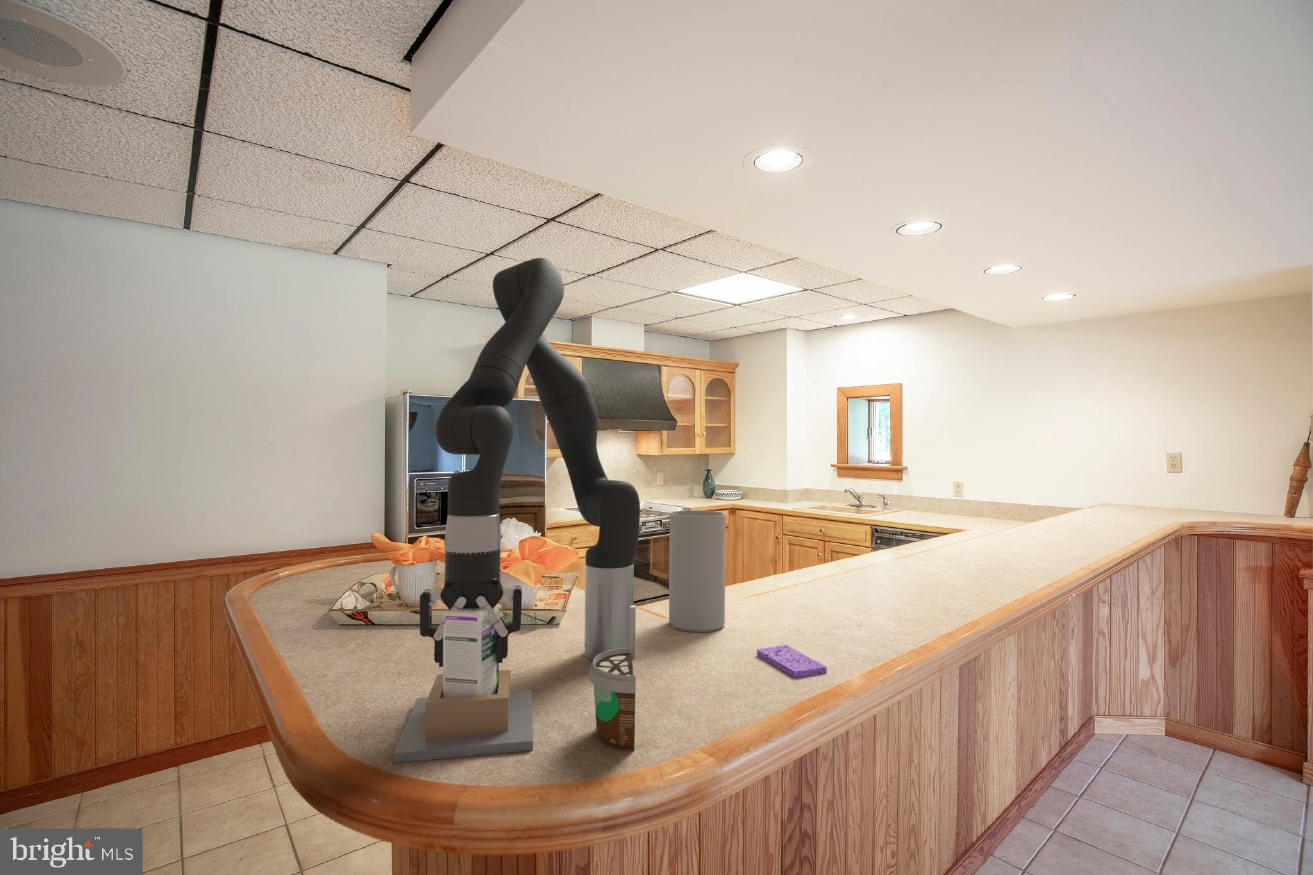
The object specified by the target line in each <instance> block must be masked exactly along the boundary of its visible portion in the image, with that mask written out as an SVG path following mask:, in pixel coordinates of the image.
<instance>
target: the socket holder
mask: <svg viewBox="0 0 1313 875" xmlns="http://www.w3.org/2000/svg"><path fill="white" fill-rule="evenodd" d="M511 671H512V670H511V669H502V670H500V669H499V685H498V693H497V694H491V695H478V696H464V697H450V698H443V673H440V674H438V673H437V674H436V677H435V678H434V682H433V684H432V687H431V690H430V692H429V695H428V696H426V697H417V698H416V700H415V702H414V705H413V706H412V709H411V711H410V714H409V716H408V717H407V718H408V719H407V720H406V723H405V725H404V728H403V730H402V732H401V734H400V737H399V739H398V742H397V743H396V745H395V747H394V749H393V750H394V751H393V753H392V763H393V764H397V763H407V762H409V763H411V762H421V761H430V760H440V759H441V760H442V759H451V758H453V759H454V758H462V757H463V758H464V757H472V756H483V755H486V756H487V755H494V754H496V755H497V754H505V753H517V752H527V751H533V750H534V749H533V748H534V738H533V737H534V732H533V731H534V728H533V725H534V721H533V690H532V689H525V690H511Z"/></svg>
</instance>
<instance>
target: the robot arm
mask: <svg viewBox="0 0 1313 875" xmlns="http://www.w3.org/2000/svg"><path fill="white" fill-rule="evenodd" d="M492 291H493V296H494V300H495V302H496V306H497V307H498V310H499V312H500V313H501V316H502V318H503V320H504V324H503V325H502V326H501V327H499V329H498V330H496V332H495V333H494V334H493V335H492V337H491V338H490V339H489V340H488V341H487V343H486V344H485V345H484V346H483V348H482V349H481V351H480V354H479V355H478V357H477V360H476V362H475V364H474V367H473V369H472V372H470V375H469V378H468V379H467V380H466V381H465V382H464V383H463V384H462V386H460V388H458V390H457V391H456V392H455V393H454V394H453V396H452V397H451V398H450V399H449V400H448V401H447V402H446V404H445V405H444V406H443V408H442V409H441V410H440V413H439V415H438V416H437V420H436V424H435V430H434V432H435V438H436V441H437V444H438V446H439V447H440V448H441V449H442V450H443V451H444V452H446V453H448V454H451V455H459V456H460V455H463V456H464V455H465V456H466V455H470V456H471V455H472V456H473V455H477V456H479V457H478V459H477V462H476V464H475V466H474V467H473V469H470V470H465V471H461V472H456V473H454V474H452V475H451V476H450V478H449V479H448V485H447V518H446V519H447V520H446V524H445V525H446V526H445V536H444V537H445V538H444V584H443V588H442V589H441V590H431V589H429V588H426V589H424V590H423V591H422V593H421V594H420V596H419V634H420V636H421V637H424V638H425V637H428V638H431V639H433V641H434V643H433V644H434V646H433V647H434V648H433V650H434V651H433V652H434V654H433V660H434V663H435V664H438V667H439V668H443V624H445V623H446V617H445V619H444V620H443V619H442V621H441V622H440V623H439V625H438V626H436V625H433V607H435V606H436V605H437V603H438V601H439V600H441V601H442V602H443V604H444V605H445V606H446V608H448V609H447V610H450V611H453V610H461V609H462V608H481V609H486V610H489V611H488V620H489V621H490V623H491V624H492V625H493V626H494V628H495V629H496V631H497V632H498V643H497V663H499V664H503V660H504V659H505V660H506V659H507V657H508V656H509V653H508V652H509V636H510V634H512V633H516V632H517V633H518V632H519V631H520V630H521V626H522V605H523V604H522V601H523V588H522V586H521V585H515V586H514V587H503V585H502V583H501V547H502V546H501V544H502V536H501V535H502V534H501V533H502V530H501V521H500V486H501V481H502V477H503V474H504V468H505V465H506V462H507V458H508V455H509V451H510V448H511V446H512V441H513V438H514V424H513V420H512V417H511V415H510V414H509V412H508V411H507V410H506V408H505V407H508V405H510V404H511V403H512V402H513V399H514V397H515V395H516V392H517V389H518V387H519V384H520V381H521V378H522V377H523V373H524V370H525V368H527V370H528V372H529V374H530V377H531V380H532V382H533V384H534V388H535V390H536V392H537V396H538V399H539V401H540V404H541V406H542V409H543V411H544V415H545V417H546V419H547V421H548V424H549V425H550V428H551V431H552V433H553V435H554V438H555V440H556V443H557V446H558V448H559V451H560V454H561V456H562V460H563V461H564V464H565V467H566V469H567V470H566V471H567V474H568V477H569V480H570V484H571V486H572V487H571V488H572V490H573V491H572V492H573V494H574V498H575V503H576V505H577V506H576V507H577V508H578V510H579V513H580V515H581V517H582V518H583V520H584V521H585V522H587V523H588V524H590V525H591V526H594V527H599V530H598V540H597V542H596V544H594V545H593V546H591V547H588V548H587V549H586V551H585V568H584V569H585V570H584V571H585V575H584V576H585V578H584V580H585V581H584V584H585V585H584V588H585V589H584V643H583V644H584V645H583V647H584V656H585V658H587V659H588V660H591V661H593V660H594V658H595V657H596V656H597V655H599V654H601V653H603V652H605V651H609V650H613V649H618V648H628V647H632V659H635V658H636V610H637V609H636V605H635V604H634V583H635V582H634V578H635V577H634V574H635V573H634V569H635V568H634V566H635V564H634V563H635V555H636V552H637V550H638V547H639V538H640V537H639V536H640V522H641V521H640V520H641V518H640V516H641V503H640V497H639V494H638V491H637V490H636V487H635V486H634V485H633V484H631V483H630V482H628V481H624V480H615V479H614V480H613V479H609V477H608V476H607V474H606V473H605V470H604V468H603V465H602V462H601V460H600V457H599V454H598V447H597V446H598V445H597V444H598V443H597V439H598V429H599V413H598V409H597V405H596V402H595V400H594V397H593V394H592V392H591V389H590V386H589V383H588V381H587V378H586V377H585V376H584V374H583V373H582V372H581V371H580V370H579V369H578V368H577V367H576V366H575V365H574V364H573V363H572V362H571V361H570V360H568V359H567V358H566V357H564V355H562V354H561V353H560V352H558V350H557V349H555V347H553V345H551V342H549V340H548V339H547V338H546V336H545V334H544V332H545V331H546V328H547V327H548V325H549V324H550V322H551V320H552V319H553V317H554V316H555V314H556V313H557V312H558V309H560V308H559V307H560V306H561V304H562V302H563V299H564V295H565V285H564V280H563V277H562V275H561V273H560V271H559V269H558V267H557V266H556V265H555V264H554V263H553V262H552V261H551V260H549V259H547V258H544V257H537V258H536V257H535V258H532V259H528V260H526V261H525V260H524V261H522V262H521V263H517V264H515V265H513V266H510V267H508V268H505V269H502V270H500V271H499V272H497V273H496V274H495V275H494V276H493V280H492ZM503 597H505V598H506V600H507V603H509V604H512V618H511V621H509V622H506V620H505V619H504V618H503V616H502V614H501V612H500V611H499V612H498V611H497V613H495V611H494V610H493V609H494V607H495V606H496V605H497V604H499V602H500V601H501V599H502V598H503ZM491 615H492V616H491Z"/></svg>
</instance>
